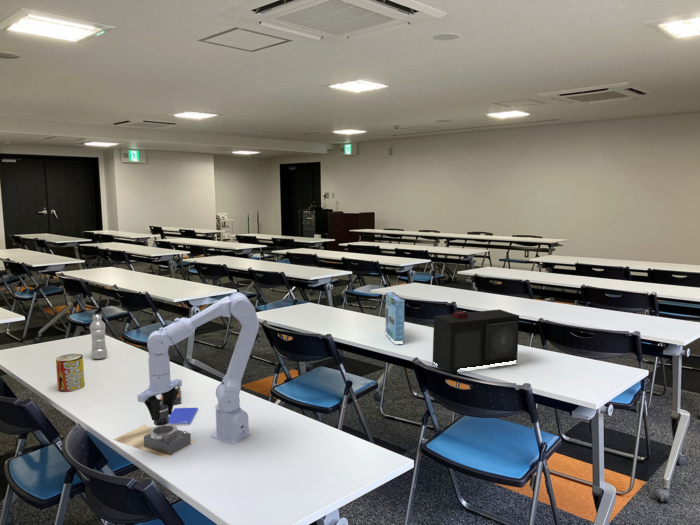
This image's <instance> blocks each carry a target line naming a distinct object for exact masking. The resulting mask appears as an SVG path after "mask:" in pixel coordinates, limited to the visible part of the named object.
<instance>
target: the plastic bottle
mask: <svg viewBox="0 0 700 525" xmlns="http://www.w3.org/2000/svg"><path fill="white" fill-rule="evenodd" d="M89 330H90V334H91V335H90V336H91V353H90V354H91V357H92V359H94V360H100V359H104V358H106V357H107V356H108V349H107V344H106V323H105V322H104V321H103V318H102V313H95V314H92V322H91V323H90V325H89Z"/></svg>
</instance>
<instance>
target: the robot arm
mask: <svg viewBox="0 0 700 525" xmlns="http://www.w3.org/2000/svg"><path fill="white" fill-rule="evenodd" d="M230 314H231V315H232V316H233V317H235V319H237V321H239V323H240V325H241V329H240V331H239V335H238V338H237V341H236V343H235V346H234V350H233V352H232V356H231V359H230V362H229V365H228V366H227V367H228V368H227V371H226V374H225V375H224V376H223V378H222V380H221V383H220V384H219V385H217V387H216V389H215V396H216V399H217V404H216V406H215V426H216V428H215V429H216V430H215V431H216V432H214V433H212V434H211V435H209V436H210V438H211V439H215V440H219V441H221V442H224V443H229V444H232V445H234V444H236V443H238V442H240V441H241V440H243V439H244V438H246V437H247V436H249V435H251V431H249V414H248V412H247V411H245V410H243V408H241V404H240V402H241V401H240V392H241V389H242V379H243V377H244V373H245V370H246V367H247V364H248V361H249V358H250V356H251V352H252V349H253V347H254V344H255V340H256V338H257V334H258V333H259V330H260V322H259V319H258V315H257V311H256V307H255V306H254V305H253V304H252V302H251V300H250V299H249V298H248V297H247V296H246V295H245V293H243V292H239V291H238V292H237V291H236V292H233V293H231V295H227V296H225V297H223V298H221V299H219V300H217V301H216V302H214V303H213V304H211V305H209V306H208V307H207V308H205V309H203V310H201V311H199V312H198V313H196V314H195V315H193V316H191V317H188V318H187V317H181V318H179V317H176V318H175V319H174V322H172V323H170V324H168V325H166V326H164V327H159V329H158V330H154V331H153V332H151V333H150V334H149V335H148V339H147V341H146V342H147V343H146V345H147V349H148V353H147V354H148V359H147V361H148V376H149V385H148V388H146V389H145V390H144V391H143V392H141V393H139V394H137V402H140V403H144V404H145V406H146V408H147V410H148V412H149V415H150V418H151V420H152V421H153V422H154V421H158V420H159V406H160V402H161V398H160V399H159V398H158V397H157V396H159V395H161V394H162V397H163V402H167V403H168V406H169V416H170V415H171V414H172V411H173V410H174V405H175V404H174V402H175V399H176V397H177V395H178V394H179V390H177V389H175V388H176V387H180V388H181V387H182V386H183V382H182V379H179V378H176V379H173V380H171V368H170V367H171V364H170V355H169V347H170V346H174V345H176V344H178V343H179V342H181V341H184V340H185V339H187V338H189V337H191V336H192V335H193V334H194V331H195V329H196V328H198V327H200V326H202V325H204V324H206V323H208V322H210V321H212V320H214V319H215V318H218V317H227V318H230V317H231V315H230Z"/></svg>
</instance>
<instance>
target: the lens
mask: <svg viewBox="0 0 700 525" xmlns="http://www.w3.org/2000/svg"><path fill="white" fill-rule="evenodd" d="M169 416H170V415H169V406H168V403H167V402H160V406H159V420H158V421H154V420H153V425H155V426H161V425H166V424H168V423H169Z"/></svg>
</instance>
